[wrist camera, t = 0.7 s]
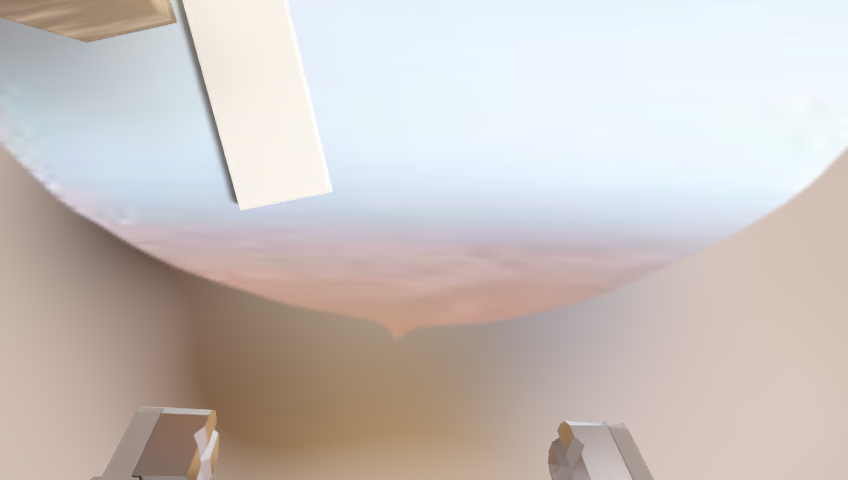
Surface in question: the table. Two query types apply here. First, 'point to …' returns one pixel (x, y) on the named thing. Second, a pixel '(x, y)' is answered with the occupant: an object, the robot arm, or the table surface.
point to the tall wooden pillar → (89, 16)
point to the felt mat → (259, 99)
